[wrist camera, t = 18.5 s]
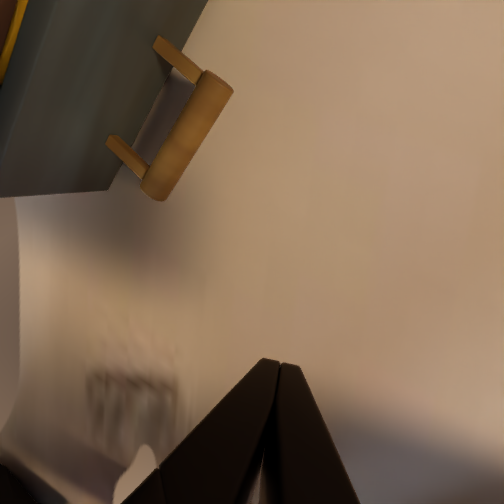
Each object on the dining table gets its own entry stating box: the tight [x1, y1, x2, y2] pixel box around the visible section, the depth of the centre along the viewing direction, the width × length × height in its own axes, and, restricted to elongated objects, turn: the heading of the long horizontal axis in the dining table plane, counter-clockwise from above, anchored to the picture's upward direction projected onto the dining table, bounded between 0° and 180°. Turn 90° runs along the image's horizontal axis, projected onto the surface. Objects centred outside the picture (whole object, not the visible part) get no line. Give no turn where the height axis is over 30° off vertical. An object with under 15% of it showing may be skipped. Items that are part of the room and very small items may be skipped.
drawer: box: [0, 0, 234, 202], centre depth 16 cm, size 17×12×6 cm
